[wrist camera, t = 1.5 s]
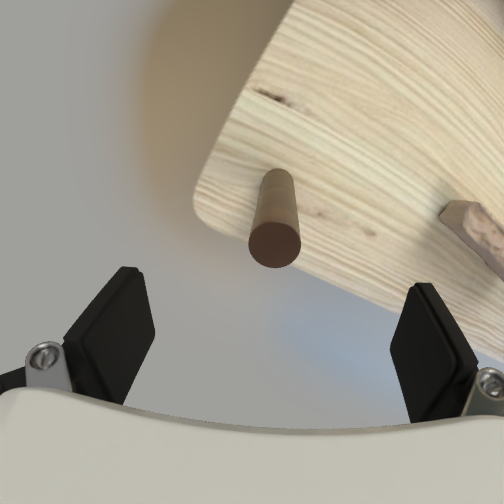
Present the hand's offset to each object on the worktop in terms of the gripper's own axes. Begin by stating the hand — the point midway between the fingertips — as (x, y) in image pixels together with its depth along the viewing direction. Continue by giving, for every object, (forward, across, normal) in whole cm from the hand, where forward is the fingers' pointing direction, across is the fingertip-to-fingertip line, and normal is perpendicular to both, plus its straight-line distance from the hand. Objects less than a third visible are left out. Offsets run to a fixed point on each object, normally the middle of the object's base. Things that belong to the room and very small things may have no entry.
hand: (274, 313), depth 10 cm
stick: (+16, 0, 0) cm, 16 cm away
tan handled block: (+16, -28, +6) cm, 33 cm away
